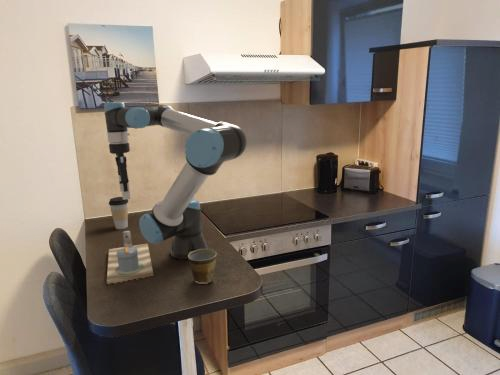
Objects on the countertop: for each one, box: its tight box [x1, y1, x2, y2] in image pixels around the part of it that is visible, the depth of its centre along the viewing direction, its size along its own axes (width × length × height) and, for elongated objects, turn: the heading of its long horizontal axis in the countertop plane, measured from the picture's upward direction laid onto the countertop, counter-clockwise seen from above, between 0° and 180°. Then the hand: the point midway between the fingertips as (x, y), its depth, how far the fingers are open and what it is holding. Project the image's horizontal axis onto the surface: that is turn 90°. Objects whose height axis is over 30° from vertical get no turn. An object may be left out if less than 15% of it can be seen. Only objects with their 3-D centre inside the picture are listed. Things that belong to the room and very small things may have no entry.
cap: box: [117, 247, 139, 272], centre depth 143 cm, size 7×7×7 cm
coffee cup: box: [108, 196, 129, 230], centre depth 193 cm, size 9×9×15 cm
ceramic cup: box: [187, 248, 217, 282], centre depth 136 cm, size 13×10×10 cm
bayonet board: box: [106, 230, 154, 285], centre depth 151 cm, size 30×16×10 cm, turn 18°
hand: (125, 195), depth 155 cm, fingers open, 13 cm apart
